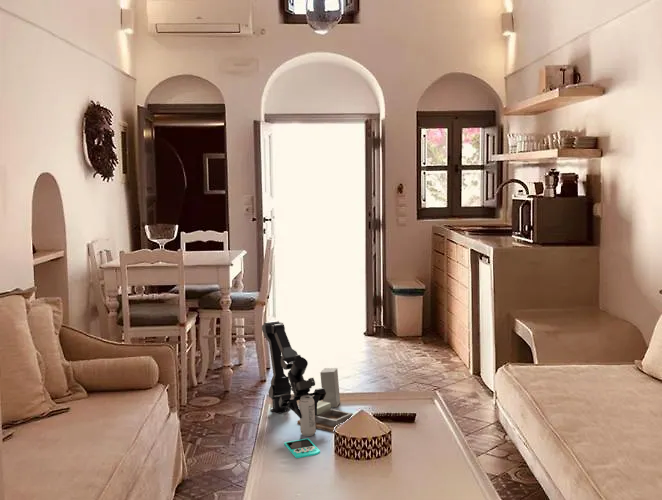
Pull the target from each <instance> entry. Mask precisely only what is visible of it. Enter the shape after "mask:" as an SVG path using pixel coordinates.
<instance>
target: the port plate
mask: <svg viewBox="0 0 662 500" xmlns="http://www.w3.org/2000/svg"><path fill="white" fill-rule="evenodd" d="M352 415H354V414H353V412H348V411H342V410H338V409H334V408H332V407H331V403H328V402H324V401H323V400H321V401H318V403H317V415H316V416H315V424H316V429H318V430H319V429H320V430H323V431H326V432H327V431H328V432H331V433H334V432H333V430H334V427H335V426H336V425H338V424H340V423H343V422H345V421H346V420H347V419H349V418H350V417H351V416H352ZM296 422H297V424H298V425H300V419H299V420H297V421H296Z"/></svg>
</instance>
